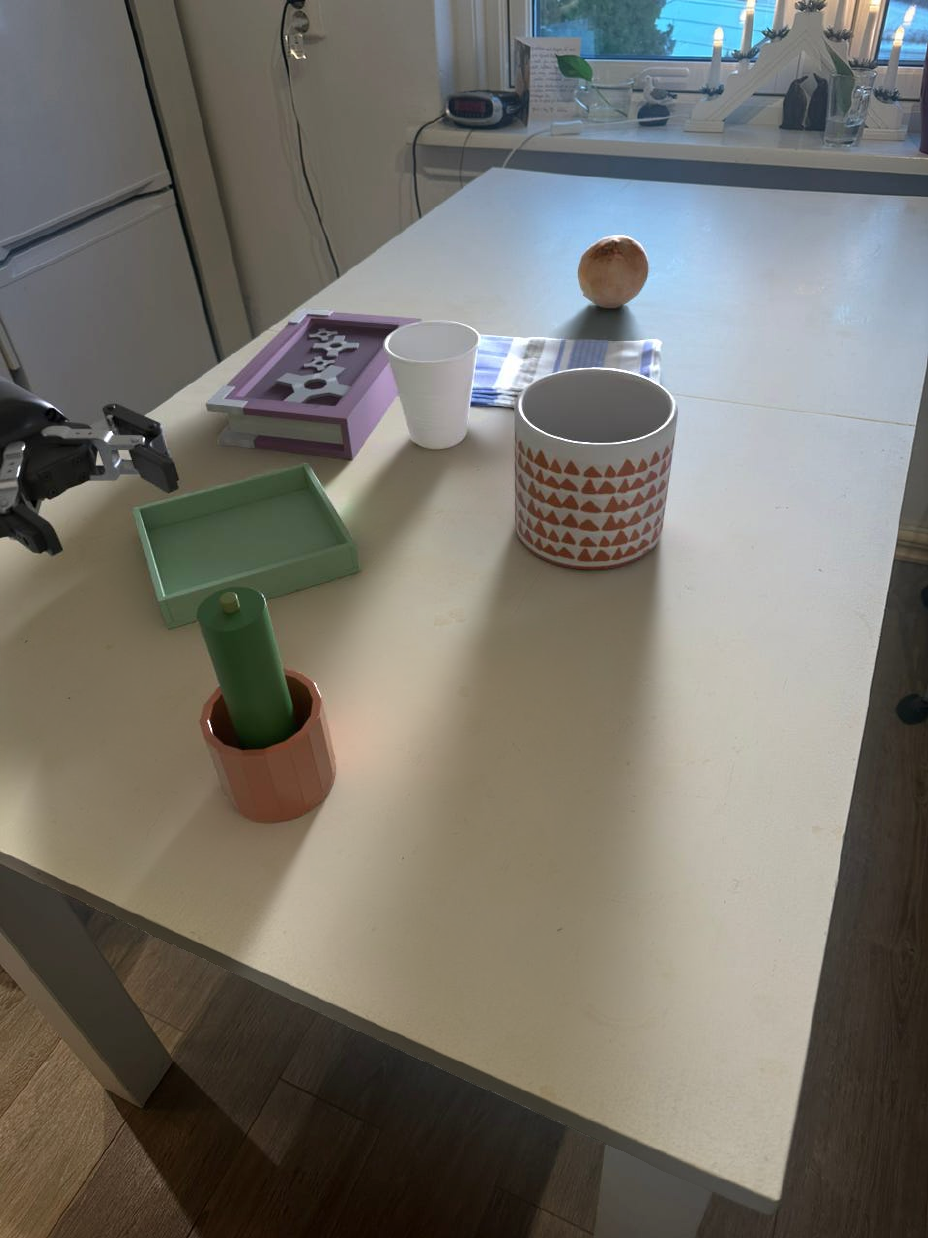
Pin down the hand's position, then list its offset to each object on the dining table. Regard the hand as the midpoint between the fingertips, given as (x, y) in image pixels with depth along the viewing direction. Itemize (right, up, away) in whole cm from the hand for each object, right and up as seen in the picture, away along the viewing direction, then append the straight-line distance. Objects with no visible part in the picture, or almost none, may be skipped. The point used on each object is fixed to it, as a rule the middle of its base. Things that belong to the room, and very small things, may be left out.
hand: (115, 509), depth 55 cm
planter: (+34, +2, +27) cm, 43 cm away
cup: (+19, +13, +40) cm, 47 cm away
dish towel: (+34, +21, +49) cm, 63 cm away
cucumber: (+9, -17, +6) cm, 21 cm away
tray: (+2, -1, +26) cm, 26 cm away
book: (+6, +19, +48) cm, 52 cm away
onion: (+42, +36, +65) cm, 86 cm away
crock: (+9, -18, +6) cm, 21 cm away
